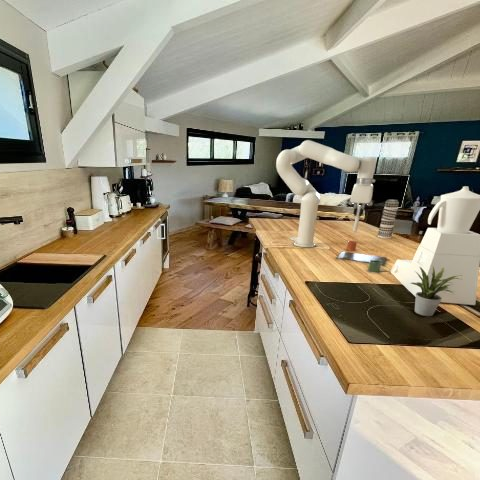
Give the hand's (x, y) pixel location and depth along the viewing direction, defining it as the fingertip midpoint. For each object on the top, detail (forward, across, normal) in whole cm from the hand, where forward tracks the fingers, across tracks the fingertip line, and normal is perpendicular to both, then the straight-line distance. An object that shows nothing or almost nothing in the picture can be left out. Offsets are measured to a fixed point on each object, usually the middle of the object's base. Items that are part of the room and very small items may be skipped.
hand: (357, 215), depth 177 cm
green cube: (+20, -16, +38) cm, 46 cm away
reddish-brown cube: (+20, 0, 0) cm, 20 cm away
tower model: (+20, -13, -52) cm, 57 cm away
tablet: (+20, -8, +18) cm, 28 cm away
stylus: (+9, 0, 0) cm, 9 cm away
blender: (+20, -36, +49) cm, 64 cm away
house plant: (+20, -36, +79) cm, 89 cm away
